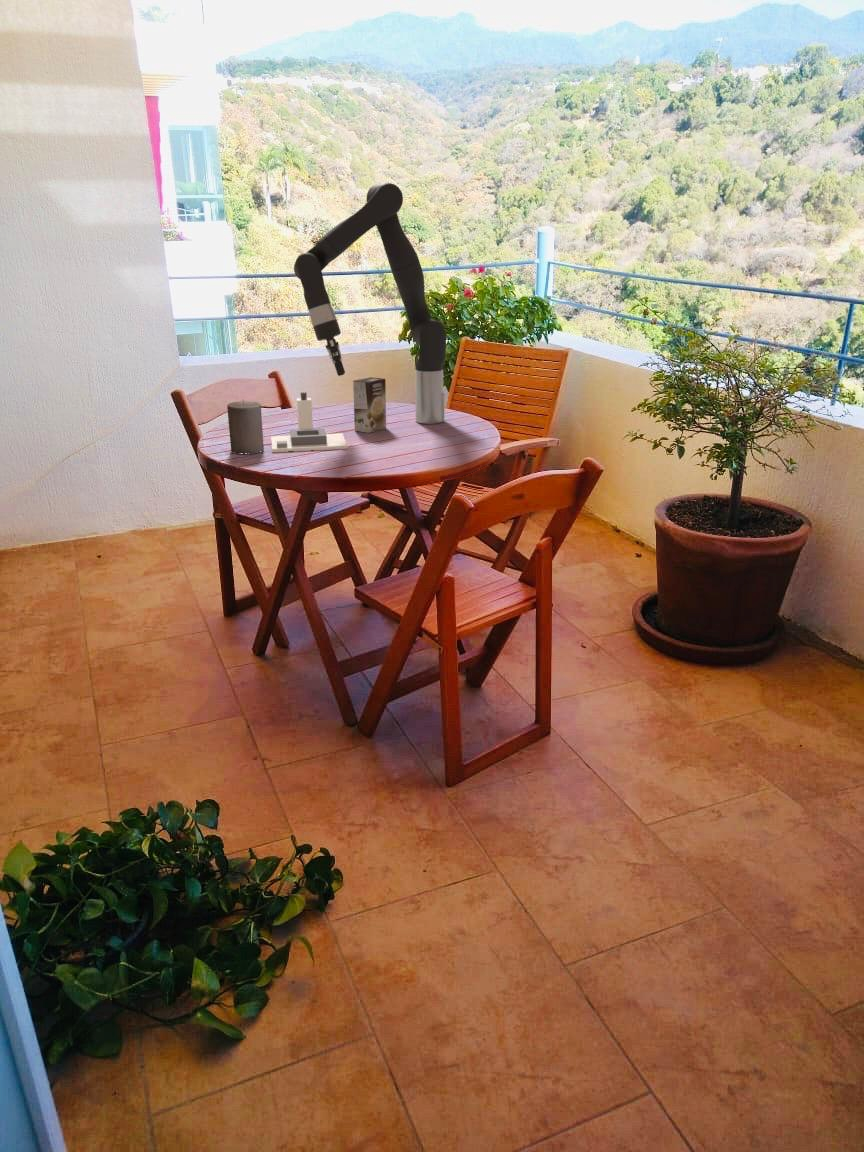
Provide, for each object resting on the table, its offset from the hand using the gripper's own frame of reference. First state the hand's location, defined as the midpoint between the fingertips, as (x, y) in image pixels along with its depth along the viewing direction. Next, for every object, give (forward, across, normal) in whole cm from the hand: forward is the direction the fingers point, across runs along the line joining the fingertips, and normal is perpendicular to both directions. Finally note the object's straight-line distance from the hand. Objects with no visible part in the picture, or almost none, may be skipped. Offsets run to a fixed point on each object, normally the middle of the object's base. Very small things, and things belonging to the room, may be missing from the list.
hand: (341, 374), depth 255 cm
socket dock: (+17, -6, +16) cm, 24 cm away
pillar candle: (+13, -11, +34) cm, 38 cm away
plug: (+14, +8, +16) cm, 23 cm away
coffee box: (+19, +11, -4) cm, 22 cm away
